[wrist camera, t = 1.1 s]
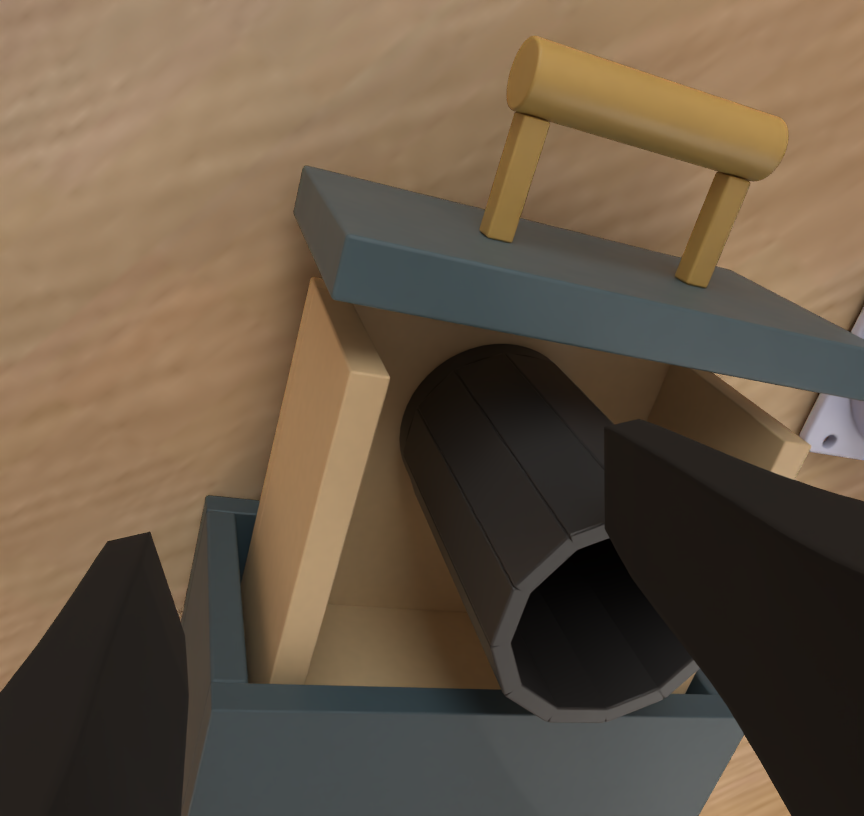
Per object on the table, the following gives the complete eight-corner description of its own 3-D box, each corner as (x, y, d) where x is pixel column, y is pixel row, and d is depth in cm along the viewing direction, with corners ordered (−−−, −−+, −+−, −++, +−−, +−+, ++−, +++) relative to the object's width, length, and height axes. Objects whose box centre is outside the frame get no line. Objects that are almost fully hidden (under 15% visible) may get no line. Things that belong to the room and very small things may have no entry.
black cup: (599, 359, 22) (783, 526, 15) (540, 514, 24) (679, 724, 17) (428, 327, 20) (547, 498, 14) (378, 496, 22) (461, 722, 15)
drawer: (341, -17, 18) (408, -21, 12) (790, 131, 22) (988, 177, 16) (211, 594, 24) (216, 774, 18) (581, 617, 28) (675, 768, 22)
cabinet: (206, 494, 23) (211, 711, 16) (614, 535, 28) (754, 717, 21) (139, 826, 28) (122, 1100, 21) (494, 815, 33) (575, 1036, 26)
